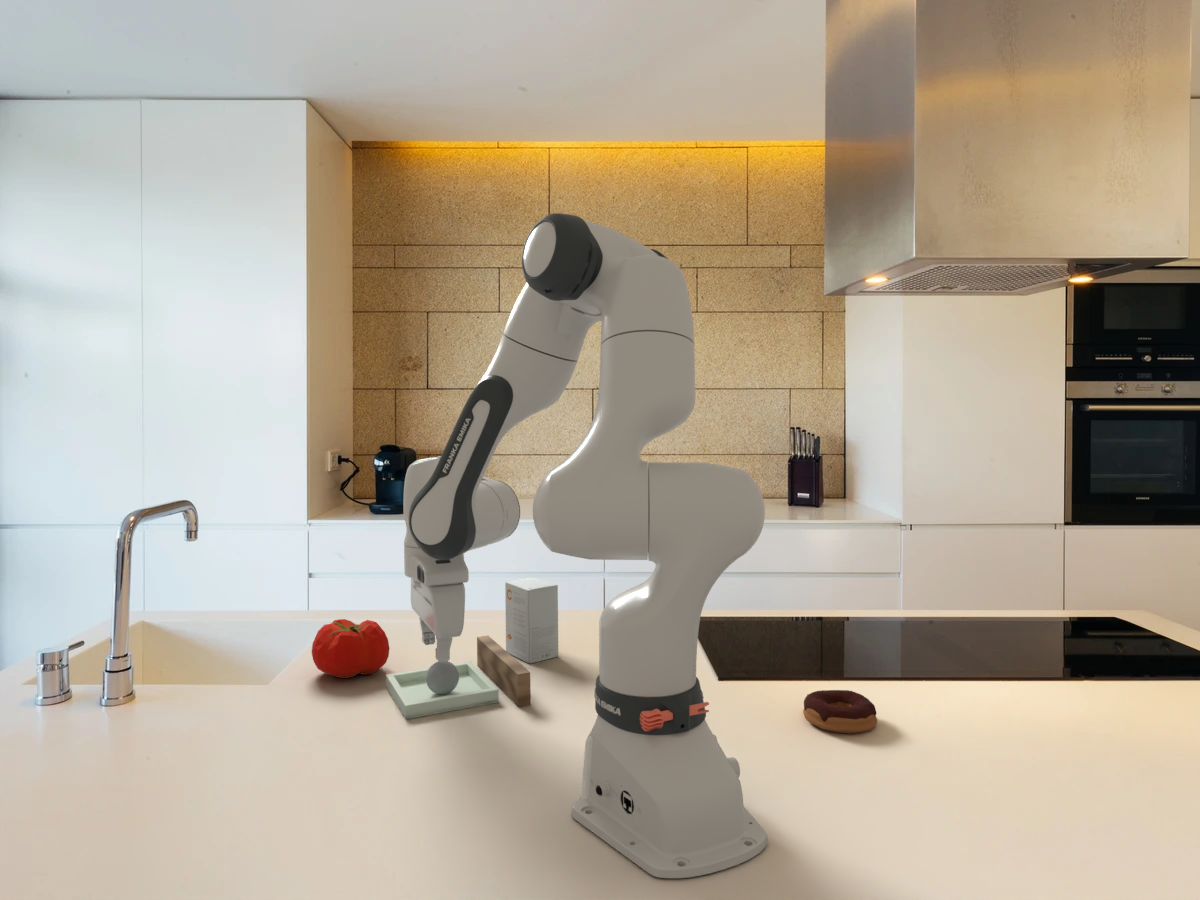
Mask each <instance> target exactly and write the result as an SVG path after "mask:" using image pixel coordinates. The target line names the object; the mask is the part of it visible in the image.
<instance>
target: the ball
mask: <svg viewBox="0 0 1200 900" xmlns="http://www.w3.org/2000/svg"><path fill="white" fill-rule="evenodd" d="M453 664H454V663H452V662H450V661H447V662H438V661H436V662H434V663H433V664H432V665H430V667H428V668H429V670H428V671H427V674H426V683H427V686H428V687H429V689H430V690H431V691H432V692H434V693H436V694H440V695H443V694H447V693H450V692H451V691H453V690H454V689H455V687H456V686H457V684H458V681H459V673H458V670H457V668H456V667H455V665H453Z"/></svg>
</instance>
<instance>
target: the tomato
mask: <svg viewBox="0 0 1200 900" xmlns="http://www.w3.org/2000/svg"><path fill="white" fill-rule="evenodd" d="M386 634H387V633H386V632H385V631H384V630H383V628H382V627H381V626H380V624H378V623H377V622H376V621H374V620H369V619H366V620H363V621H362V622H360V623H359V624H358V623H357V624H356V623H354V622H353V621H352V620H349V619H346V618H343V619H342V618H341V619H339V618H338V619H335V620H333V621H332V622H329V623H326V624H323V626H322V627H320V629H319V630H318V631H317V632H316V635H315V637H314V640H313V642H312V646H311V656H312V660H313V663H314V665H315V667H316V668H317V669H318V670H320V672H322V673H325V674H328V675H331V676H332V677H333V676H334V677H336V678H343V679H348V678H351V677H354V676H356V675H358V674H362V675H366V676H367V675H371V674H374V673H376V672H378V671H379V670H380V669H381V668H383V666H384V665H385V664H386V663H387V661H388V658H389V654H390V645H389V643H390V642H389V638H388V636H387V635H386Z"/></svg>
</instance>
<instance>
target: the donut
mask: <svg viewBox="0 0 1200 900" xmlns="http://www.w3.org/2000/svg"><path fill="white" fill-rule="evenodd" d="M802 713H803V714H802V715H803V716H804V718H805V720H806V721H808V722H809V723H811V724H812V725H813V726H816V727H817V728H819V729H822V730H825V731H828V732H833V733H838V734H840V733H841V734H860V733H866V732H869V731H871V730H873V729H874V728H876V726H877V725H878V717H877V709H876V706H875V704H874V703H873V702H872V701H870V699H869V698H867V697H866V696H864V695H863V694H862V693H859V692H856V691H853V690H848V689H847V690H845V689H832V690H831V689H828V690H826V689H825V690H817V691H813V692H811V693H808V694H806V696H805V698H804V700H803V710H802Z"/></svg>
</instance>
